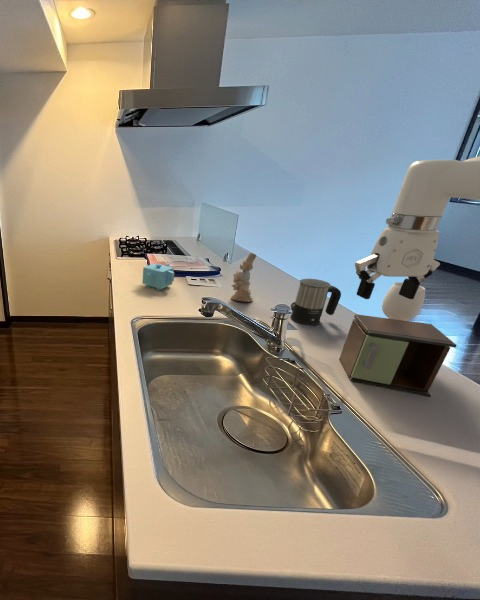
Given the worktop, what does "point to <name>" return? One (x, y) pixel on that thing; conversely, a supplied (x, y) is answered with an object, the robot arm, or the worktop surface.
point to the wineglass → (402, 303)
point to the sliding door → (379, 359)
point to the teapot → (158, 276)
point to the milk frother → (314, 301)
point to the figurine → (243, 280)
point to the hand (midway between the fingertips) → (384, 297)
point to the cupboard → (416, 360)
